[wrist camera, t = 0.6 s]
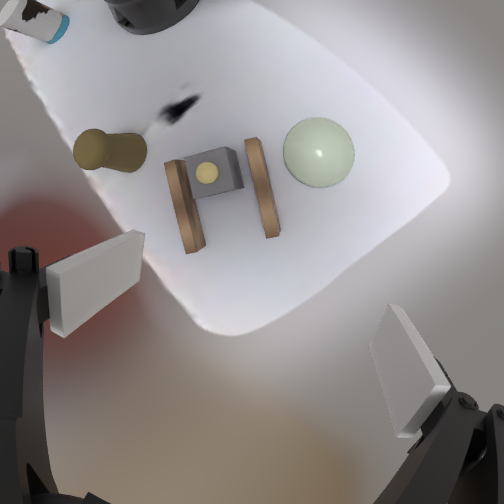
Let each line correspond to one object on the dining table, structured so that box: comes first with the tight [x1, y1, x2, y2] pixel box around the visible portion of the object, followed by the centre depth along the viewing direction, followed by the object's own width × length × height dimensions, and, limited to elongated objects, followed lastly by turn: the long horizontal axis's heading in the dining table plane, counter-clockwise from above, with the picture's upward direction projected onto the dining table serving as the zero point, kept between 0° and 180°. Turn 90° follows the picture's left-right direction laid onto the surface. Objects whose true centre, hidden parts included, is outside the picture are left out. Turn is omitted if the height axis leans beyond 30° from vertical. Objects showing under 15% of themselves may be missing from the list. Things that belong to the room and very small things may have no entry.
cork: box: [73, 129, 147, 172], centre depth 34 cm, size 6×6×11 cm
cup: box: [0, 0, 69, 44], centre depth 28 cm, size 7×7×15 cm
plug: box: [184, 147, 244, 199], centre depth 35 cm, size 5×5×7 cm
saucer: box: [284, 118, 355, 187], centre depth 35 cm, size 9×9×1 cm
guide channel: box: [164, 137, 281, 254], centre depth 37 cm, size 12×12×4 cm
